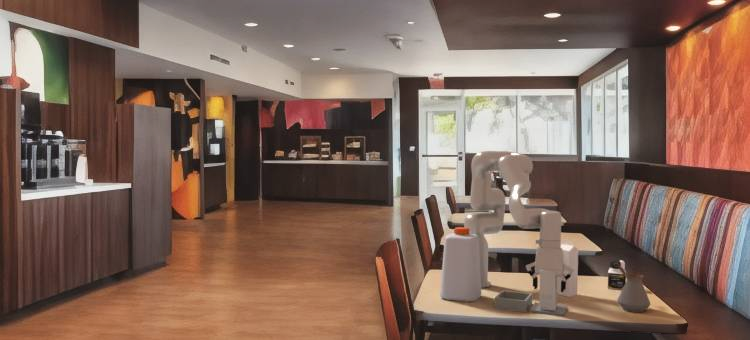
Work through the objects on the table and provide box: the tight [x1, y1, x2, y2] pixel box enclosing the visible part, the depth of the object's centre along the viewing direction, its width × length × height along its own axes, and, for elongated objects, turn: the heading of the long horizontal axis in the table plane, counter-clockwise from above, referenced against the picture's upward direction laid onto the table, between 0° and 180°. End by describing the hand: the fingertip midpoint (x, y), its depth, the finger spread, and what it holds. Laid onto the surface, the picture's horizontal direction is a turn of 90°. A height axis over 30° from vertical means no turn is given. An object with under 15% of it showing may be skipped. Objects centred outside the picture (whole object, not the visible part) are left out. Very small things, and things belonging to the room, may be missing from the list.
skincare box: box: [539, 270, 558, 311], centre depth 229 cm, size 8×6×15 cm
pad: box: [528, 302, 568, 317], centre depth 229 cm, size 12×12×1 cm
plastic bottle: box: [439, 226, 482, 303], centre depth 247 cm, size 15×15×28 cm
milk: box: [557, 240, 579, 298], centre depth 253 cm, size 6×6×22 cm
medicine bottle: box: [607, 259, 627, 291], centre depth 267 cm, size 7×7×12 cm
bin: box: [494, 289, 533, 313], centre depth 235 cm, size 12×13×4 cm
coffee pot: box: [614, 262, 651, 313], centre depth 237 cm, size 21×12×15 cm, turn 3°
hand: (549, 289), depth 229 cm, fingers open, 9 cm apart
